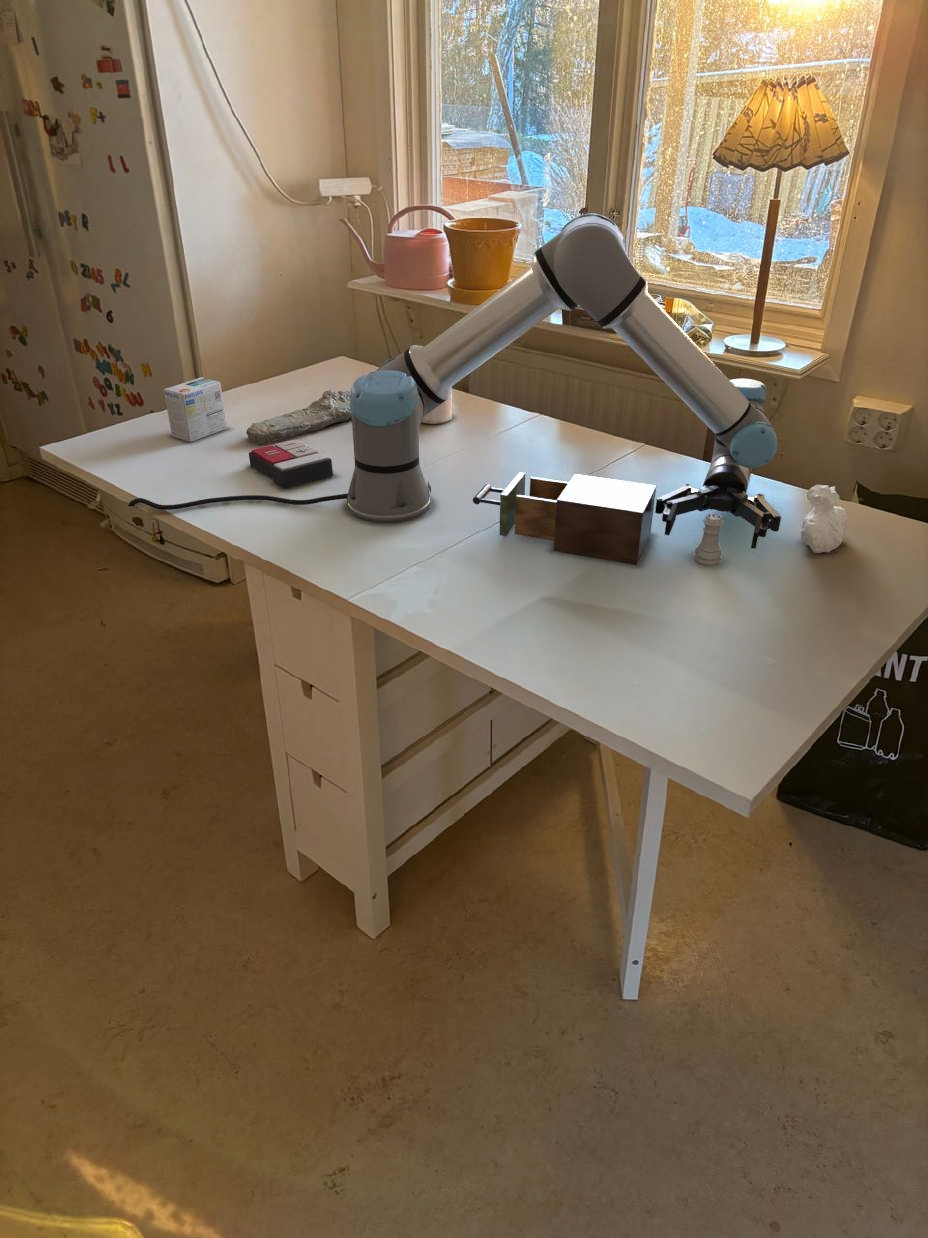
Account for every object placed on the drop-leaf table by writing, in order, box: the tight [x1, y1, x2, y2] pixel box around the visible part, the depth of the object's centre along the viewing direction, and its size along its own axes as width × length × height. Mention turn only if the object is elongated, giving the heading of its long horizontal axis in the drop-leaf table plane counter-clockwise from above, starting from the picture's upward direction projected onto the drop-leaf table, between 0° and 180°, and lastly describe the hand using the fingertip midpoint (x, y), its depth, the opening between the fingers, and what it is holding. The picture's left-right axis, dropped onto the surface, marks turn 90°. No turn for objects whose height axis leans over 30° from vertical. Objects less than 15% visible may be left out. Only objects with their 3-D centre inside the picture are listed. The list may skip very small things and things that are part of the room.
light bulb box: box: [163, 376, 228, 443], centre depth 197 cm, size 11×7×11 cm, turn 144°
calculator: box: [248, 439, 334, 490], centre depth 180 cm, size 11×4×15 cm
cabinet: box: [553, 473, 657, 566], centre depth 152 cm, size 14×12×9 cm
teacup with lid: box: [421, 386, 453, 425], centre depth 206 cm, size 12×9×12 cm
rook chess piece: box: [693, 512, 724, 567], centre depth 147 cm, size 4×4×8 cm
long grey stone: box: [246, 389, 352, 446], centre depth 204 cm, size 35×5×10 cm
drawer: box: [472, 471, 570, 542], centre depth 156 cm, size 19×10×8 cm, turn 69°
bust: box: [800, 484, 849, 554], centre depth 153 cm, size 12×8×11 cm
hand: (710, 534), depth 144 cm, fingers open, 13 cm apart
